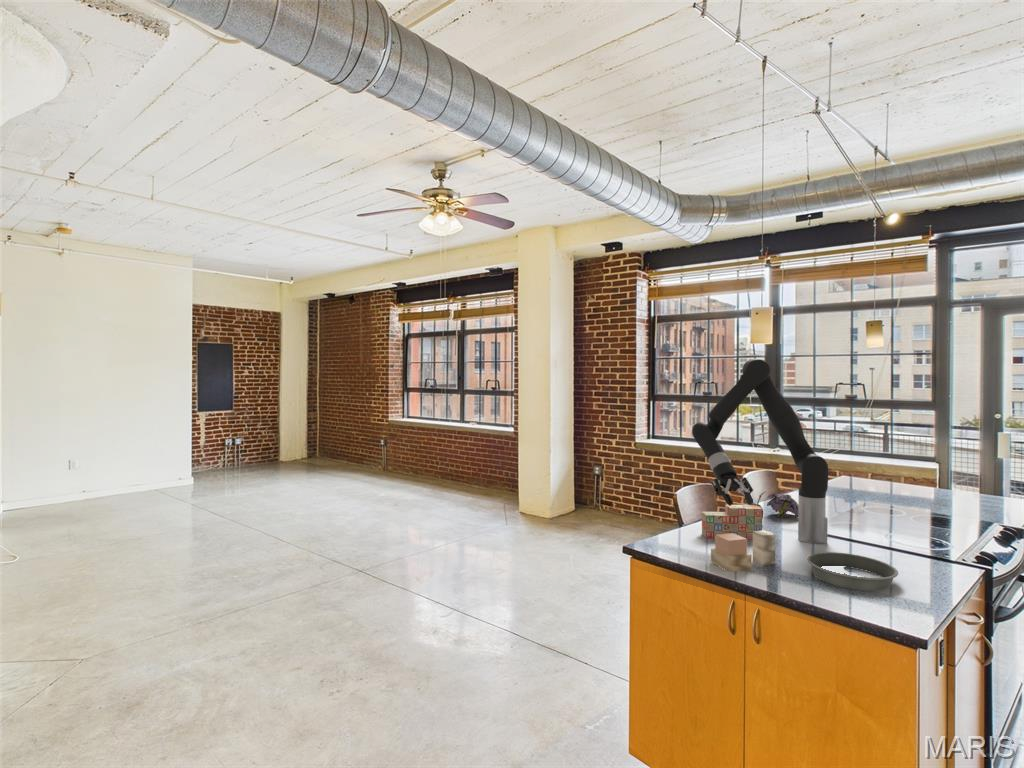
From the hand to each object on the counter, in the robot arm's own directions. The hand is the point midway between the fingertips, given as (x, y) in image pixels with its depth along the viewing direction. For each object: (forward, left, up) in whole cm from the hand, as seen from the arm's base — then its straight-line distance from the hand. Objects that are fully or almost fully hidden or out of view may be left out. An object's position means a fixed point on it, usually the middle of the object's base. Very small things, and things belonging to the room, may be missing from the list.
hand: (741, 504), depth 203 cm
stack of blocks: (-1, -19, -18) cm, 26 cm away
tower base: (+7, +16, -17) cm, 25 cm away
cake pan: (-28, +22, -18) cm, 40 cm away
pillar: (-5, +11, -17) cm, 21 cm away
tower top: (+7, +17, -12) cm, 22 cm away
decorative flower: (-31, -55, -17) cm, 66 cm away
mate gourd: (-15, -40, -17) cm, 47 cm away
